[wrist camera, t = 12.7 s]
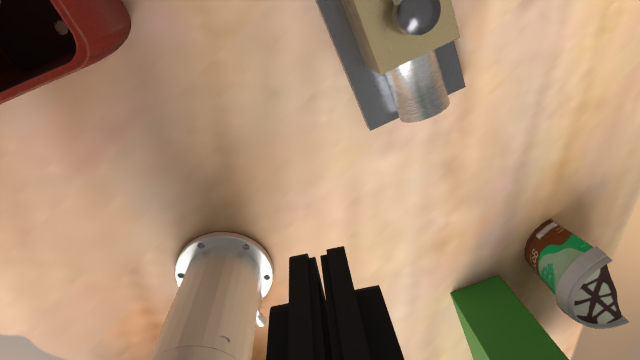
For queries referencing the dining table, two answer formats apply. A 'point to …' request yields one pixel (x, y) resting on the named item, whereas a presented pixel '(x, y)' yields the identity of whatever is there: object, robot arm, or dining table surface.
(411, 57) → the valve body
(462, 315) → the green cereal box
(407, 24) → the valve lever
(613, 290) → the food container
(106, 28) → the plant pot
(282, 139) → the dining table surface
